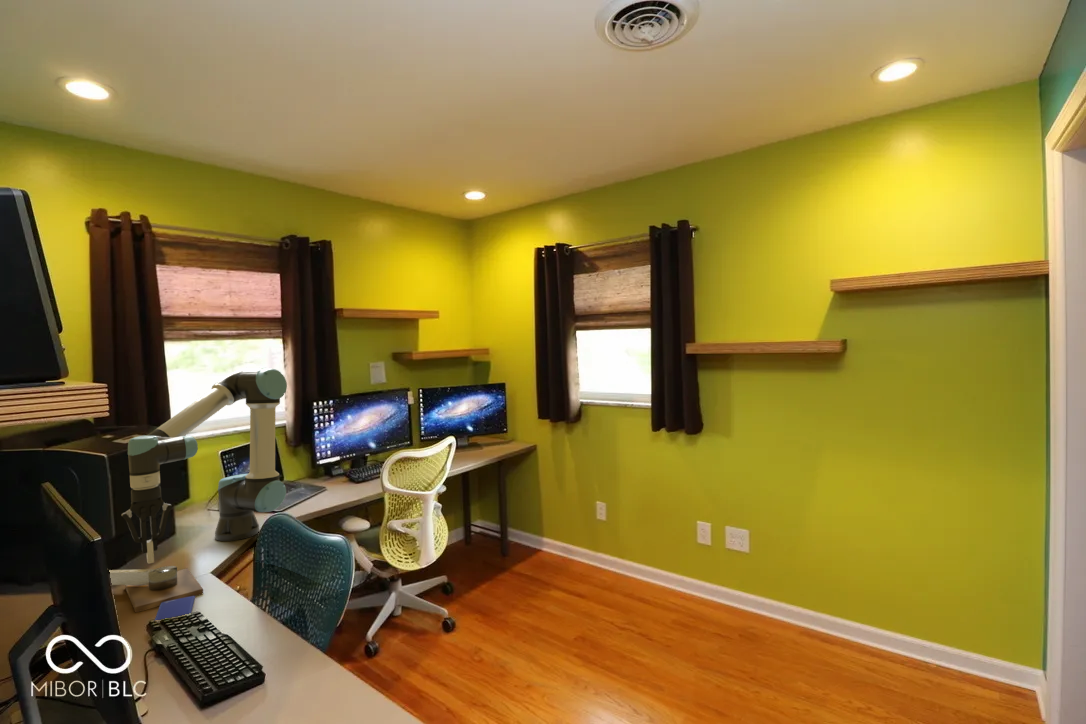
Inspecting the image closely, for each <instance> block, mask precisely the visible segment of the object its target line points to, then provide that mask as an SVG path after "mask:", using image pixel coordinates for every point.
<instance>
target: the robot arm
mask: <svg viewBox="0 0 1086 724" xmlns="http://www.w3.org/2000/svg"><path fill="white" fill-rule="evenodd" d="M287 385H288V384H287V380H286V378H285V375H284V374H282V372H281V371H280V370H278V369H275V368H270V367H269V368H267V367H263V368H260V367H259V368H242V369H239V370H236V371H234V372H232V373H230V374H228V375H227V376H225V377H223V378H222V379H221V380H218V382H215V383H214V384H213V385H212V387H211V389H210V390H209V391H208V392H206V393H204V395H202V396H201V397H200V398H198V399H196V400H195V401H194V402H192V403H191V404H189V405H188V406H186V408H184V409H183V410H181V411H180V412H178V413H177V414H175V415H174V416H173V417H171V418H169V419H168V420H167V421H166V422H164V423H162V424H160V426H158V427H157V428H156V429H154V430H152V431H151V432H149V433H148V434H146V435H145V434H143V435H139V436H135V437H133V438H130V439H129V440H128V441H127V455H128V457H127V458H128V469H129V470H128V471H129V484H130V488H131V489H130V501H131V502H130V506H129V509H128V510H126V511H125V512H122V513H121V517H122V519H124V520H125V522H126V524H127V526H128V527H127V528H128V529H129V531H130V535H131V536H132V539H133V541H134V543H136V544H138V543H139V544H141V551H142V553H143V554H146V562H147V564H153V563H155V555H154V554H155V553H154V551H155V552H156V551H157V550H158V540H159V539H161V538H163V537H164V535H165V531H166V528H167V527H166V526H167V522H168V517H169V515H170V514H169V513H170V512H171V511H172V509H173V505H172V504H171V503H167V502H166V503H165V501H164V500H163V499H162V487H161V473H160V472H161V471H160V466H161V465H164V464H168V463H173V462H177V461H182V460H184V461H185V460H186V459H189V458H190V459H191V458H193V457H195V456H196V455H197V452H198V449H199V448H198V441H197V440H196V438H195V437H194V436H192V435H188V434H189V433H191V432H192V431H193V430H194V429H197V427H199V426H200V425H202V424H203V423H204V422H206V421H207V420H208V419H209V418H211V417H212V416H214V415H215V414H216V413H217V412H219V411H220V410H221V409H223V408H225V407H226V406H231V405H233V404H235V403H236V402H237V401H240V400H245V405H246V406H247V407H248V408H249V409H250V410H249V413H250V414H249V415H250V416H249V417H250V418H249V422H250V423H249V425H250V426H249V472H248V473H242V474H236V475H235V474H234V475H231V476H230V475H229V476H227V477H223V478H221V479H220V480H219V481H218V488H217V493H218V509H219V519H218V521H217V525H216V528H215V531H214V539H215V540H216V541H221V542H230V541H239V540H244V539H247V538H250V537H254V536H256V535H257V534H259V533H258V531H259V532H260V524H259V522H258V519H257V516H256V515H255V512H258V513H265V512H266V513H267V512H273V511H275V510H277V509H278V508H279V507H281V504H283V503H284V500H285V499H286V495H287V486H286V485H285V484H284V482H282V481H281V480H280V473H279V472H278V471H277V470H276V408H277V407H278V405H280V403H281V398H282V397H283V396H284V395H285V394H286V392H287V389H288V388H287V387H288V386H287ZM161 509H162V513H161V519H160V523H159V528H158V529H157V514H158V513H159V511H160V510H161ZM132 513H133V514H134V515H136V516H137V518H139V527H140V529H139V530H140V537H139V535H138V531H137V530H136V528H135V524H134V523H133V520H132V516H133V514H132ZM148 517H149V523H150V524H149V526H150V539H147V538H148V537H147V535H148V534H147V518H148ZM157 531H158V532H157Z"/></svg>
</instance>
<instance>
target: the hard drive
mask: <svg viewBox="0 0 1086 724" xmlns="http://www.w3.org/2000/svg"><path fill="white" fill-rule="evenodd" d="M195 601H196V596H190V597H185V598H180V599H175V600H170V601H165V602H162V603H161V604H160V606H158V610H157V612H156V615H155V618H154V620H153V622H154V621H155V620H161V619H165V618H172V617H178V616H182V615H185V614H189V613H192V614H193V610H194V606H195Z"/></svg>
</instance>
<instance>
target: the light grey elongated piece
mask: <svg viewBox="0 0 1086 724" xmlns="http://www.w3.org/2000/svg"><path fill="white" fill-rule="evenodd" d="M108 570H109V572H110V578H111V583H112V585H111V586H125V585H144V584H149V589H150V590H162V589H166V588H169V587H172V586H174V585H176V584H177V583H178V580H177V571H178V567H177V566H176V565H166V566H165V565H164V566H159V567H156V568H154V569H112V570H111V569H108Z"/></svg>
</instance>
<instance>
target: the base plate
mask: <svg viewBox="0 0 1086 724" xmlns="http://www.w3.org/2000/svg"><path fill="white" fill-rule="evenodd" d="M177 580H178V583H177V584H176V585H174V586H172V587H169V588H166V589H162V590H150V589H149V584H144V585H124V588H125V591H126V593H127V596H128V598H129V601H130V603H131V605H132V607H133V610H134V612H135V613H139V612H143V611H147V610H150V609H153V608H157V607H160V604H161V603H162V602H165V601H170V600H175V599H180V598H185V597H190V596H195V597H197V596H200V595H203V594H204V588H203V586H202V585H201V584H200V583H199V581H198V580H197V579H196V578H195V576H194V575H193V574H192V572H191V571H190V570H189V568H188V567H187V568H186V567H185V568H183V569H179V570H178V569H177ZM202 593H203V594H202ZM199 594H200V595H199ZM196 595H197V596H196Z"/></svg>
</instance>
